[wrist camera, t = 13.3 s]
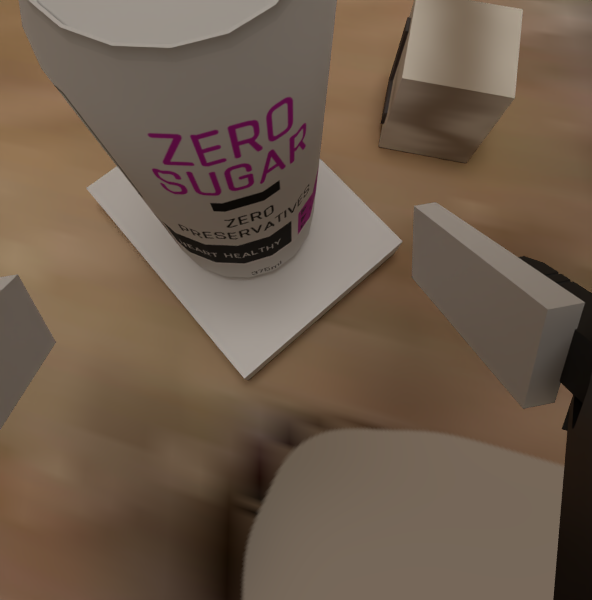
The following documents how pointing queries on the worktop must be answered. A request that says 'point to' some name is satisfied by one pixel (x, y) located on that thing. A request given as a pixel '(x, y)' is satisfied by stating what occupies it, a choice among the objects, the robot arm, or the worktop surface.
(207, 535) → the worktop surface
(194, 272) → the grey board
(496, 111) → the letter block
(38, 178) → the worktop surface
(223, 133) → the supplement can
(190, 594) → the worktop surface
